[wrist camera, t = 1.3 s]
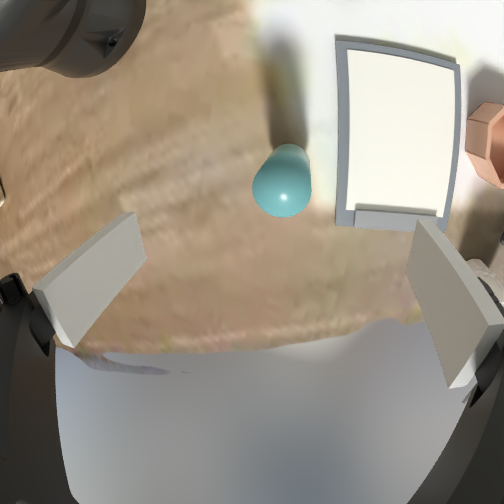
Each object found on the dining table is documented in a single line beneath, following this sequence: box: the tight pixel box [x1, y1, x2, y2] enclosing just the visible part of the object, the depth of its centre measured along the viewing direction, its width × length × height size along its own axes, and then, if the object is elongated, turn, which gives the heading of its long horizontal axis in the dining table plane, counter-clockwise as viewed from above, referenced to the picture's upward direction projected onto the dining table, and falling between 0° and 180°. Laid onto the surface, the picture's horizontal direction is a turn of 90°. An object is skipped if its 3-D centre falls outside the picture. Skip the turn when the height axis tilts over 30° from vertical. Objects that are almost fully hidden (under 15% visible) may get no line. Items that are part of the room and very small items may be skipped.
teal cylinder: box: [252, 144, 311, 217], centre depth 23 cm, size 4×4×11 cm
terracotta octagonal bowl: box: [465, 102, 504, 189], centre depth 19 cm, size 9×9×4 cm
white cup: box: [466, 259, 504, 307], centre depth 26 cm, size 8×8×10 cm
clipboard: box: [335, 40, 461, 233], centre depth 23 cm, size 20×14×2 cm
